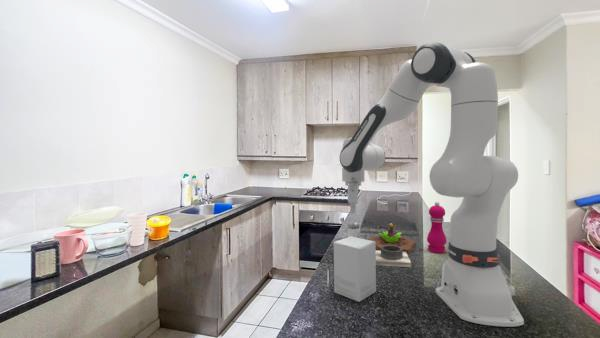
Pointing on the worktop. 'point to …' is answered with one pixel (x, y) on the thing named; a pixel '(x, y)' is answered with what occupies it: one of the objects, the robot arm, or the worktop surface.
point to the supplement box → (355, 268)
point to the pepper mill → (436, 229)
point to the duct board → (392, 257)
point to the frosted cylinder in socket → (353, 229)
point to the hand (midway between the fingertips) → (353, 210)
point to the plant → (393, 240)
